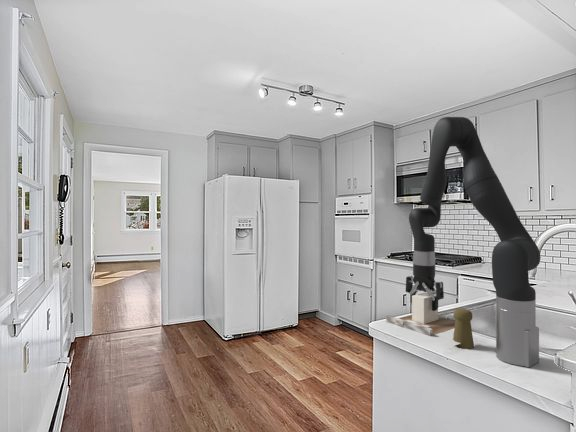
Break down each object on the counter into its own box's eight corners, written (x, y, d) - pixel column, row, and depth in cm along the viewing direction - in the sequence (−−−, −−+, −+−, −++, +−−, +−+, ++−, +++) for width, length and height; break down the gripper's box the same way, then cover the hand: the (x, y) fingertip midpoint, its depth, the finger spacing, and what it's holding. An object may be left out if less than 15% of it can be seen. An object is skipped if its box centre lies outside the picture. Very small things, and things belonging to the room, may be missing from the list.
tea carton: (423, 324, 125) (423, 298, 125) (411, 320, 130) (411, 295, 129) (437, 319, 130) (437, 295, 129) (425, 316, 134) (425, 292, 134)
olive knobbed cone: (478, 348, 106) (477, 312, 106) (457, 349, 106) (457, 312, 106) (468, 341, 112) (468, 306, 112) (448, 341, 113) (448, 306, 112)
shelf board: (465, 328, 124) (465, 318, 124) (429, 340, 113) (429, 329, 113) (421, 316, 139) (421, 307, 139) (385, 325, 128) (385, 316, 128)
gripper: (448, 264, 125) (448, 310, 126) (414, 259, 137) (413, 301, 138) (435, 266, 121) (434, 314, 122) (401, 261, 133) (401, 304, 133)
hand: (423, 307), depth 130 cm, fingers open, 8 cm apart
